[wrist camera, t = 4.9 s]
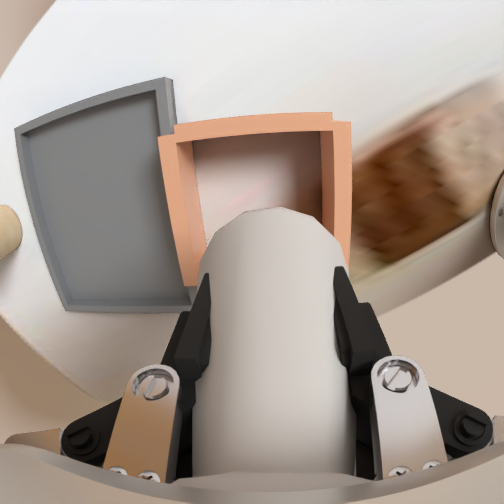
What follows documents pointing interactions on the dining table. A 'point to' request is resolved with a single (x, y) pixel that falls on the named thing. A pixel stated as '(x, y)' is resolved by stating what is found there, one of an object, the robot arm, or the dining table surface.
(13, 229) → the candle
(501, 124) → the dining table surface
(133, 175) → the tray
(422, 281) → the dining table surface
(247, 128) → the open container
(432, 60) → the dining table surface
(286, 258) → the salt shaker
